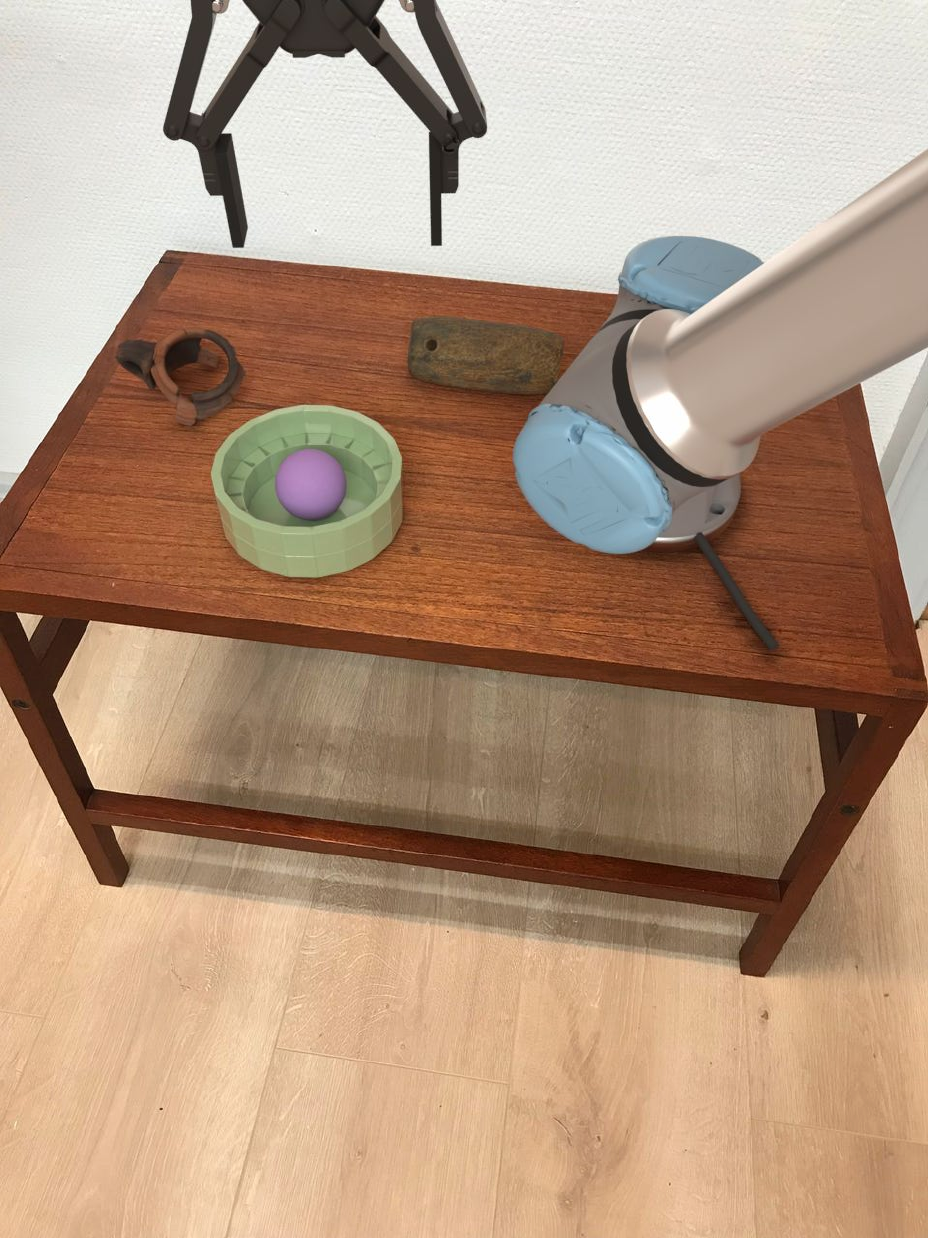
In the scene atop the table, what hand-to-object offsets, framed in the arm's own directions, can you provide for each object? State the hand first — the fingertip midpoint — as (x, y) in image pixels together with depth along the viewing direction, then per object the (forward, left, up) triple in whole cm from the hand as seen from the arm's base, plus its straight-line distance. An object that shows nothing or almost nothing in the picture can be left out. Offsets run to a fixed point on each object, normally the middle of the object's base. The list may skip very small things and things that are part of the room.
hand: (338, 237), depth 68 cm
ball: (-3, +4, -21) cm, 22 cm away
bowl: (-3, +4, -25) cm, 25 cm away
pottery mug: (+13, +18, -25) cm, 33 cm away
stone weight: (+16, -11, -25) cm, 32 cm away
